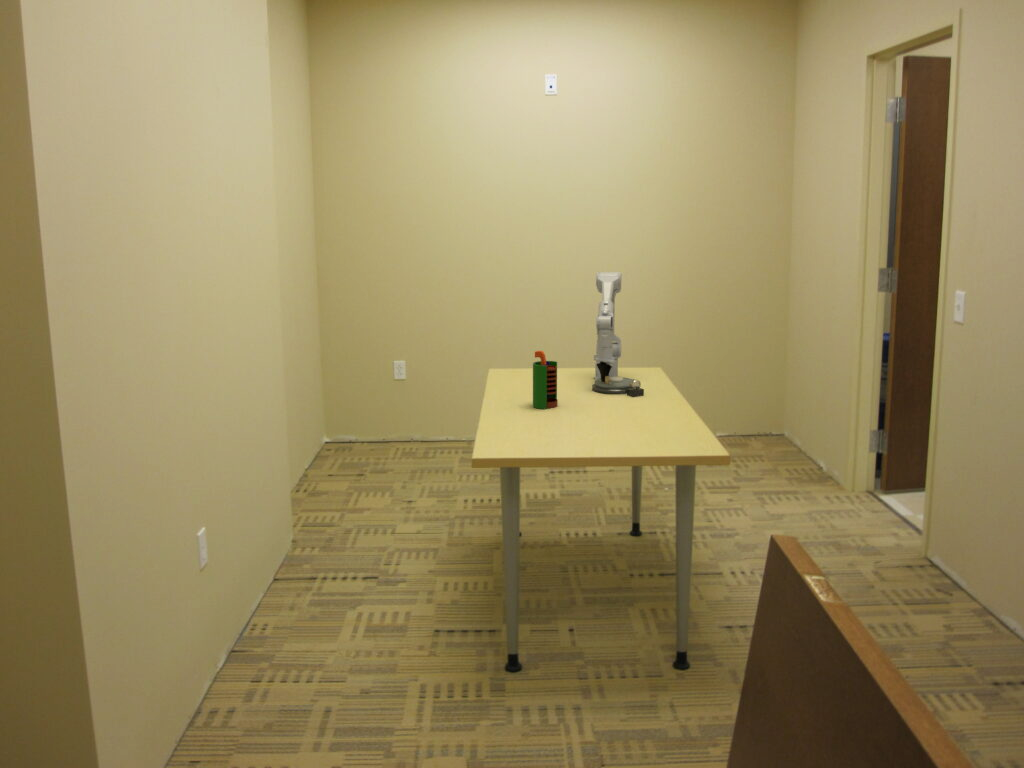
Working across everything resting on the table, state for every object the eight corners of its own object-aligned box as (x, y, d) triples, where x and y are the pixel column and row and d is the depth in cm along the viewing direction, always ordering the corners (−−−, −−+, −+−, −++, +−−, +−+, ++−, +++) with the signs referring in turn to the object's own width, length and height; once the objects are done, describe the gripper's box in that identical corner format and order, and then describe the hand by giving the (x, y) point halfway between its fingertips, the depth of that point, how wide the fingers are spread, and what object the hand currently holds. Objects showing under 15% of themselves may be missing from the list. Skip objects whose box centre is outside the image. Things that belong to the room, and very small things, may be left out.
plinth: (583, 387, 353) (583, 384, 353) (620, 382, 361) (620, 378, 361) (609, 396, 337) (609, 392, 337) (648, 390, 346) (648, 386, 345)
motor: (555, 409, 319) (554, 354, 314) (530, 408, 320) (529, 353, 316) (559, 403, 328) (559, 349, 324) (535, 402, 330) (534, 348, 326)
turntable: (586, 386, 348) (586, 374, 347) (608, 379, 360) (608, 368, 359) (622, 391, 338) (622, 379, 337) (643, 383, 350) (643, 372, 349)
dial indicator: (624, 394, 340) (624, 379, 338) (635, 393, 342) (635, 377, 341) (632, 397, 335) (633, 381, 334) (643, 395, 338) (643, 379, 336)
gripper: (586, 344, 347) (586, 379, 350) (604, 350, 334) (604, 386, 337) (603, 343, 350) (602, 377, 353) (621, 349, 337) (620, 384, 339)
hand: (604, 381), depth 345 cm, fingers closed, pressing on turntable
